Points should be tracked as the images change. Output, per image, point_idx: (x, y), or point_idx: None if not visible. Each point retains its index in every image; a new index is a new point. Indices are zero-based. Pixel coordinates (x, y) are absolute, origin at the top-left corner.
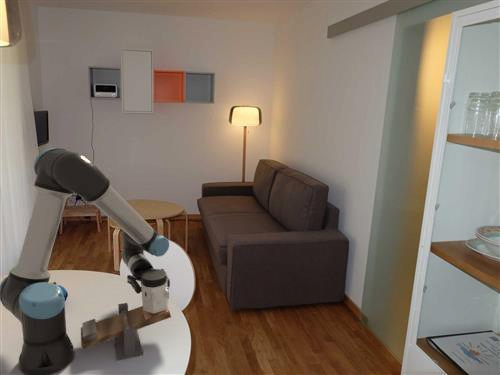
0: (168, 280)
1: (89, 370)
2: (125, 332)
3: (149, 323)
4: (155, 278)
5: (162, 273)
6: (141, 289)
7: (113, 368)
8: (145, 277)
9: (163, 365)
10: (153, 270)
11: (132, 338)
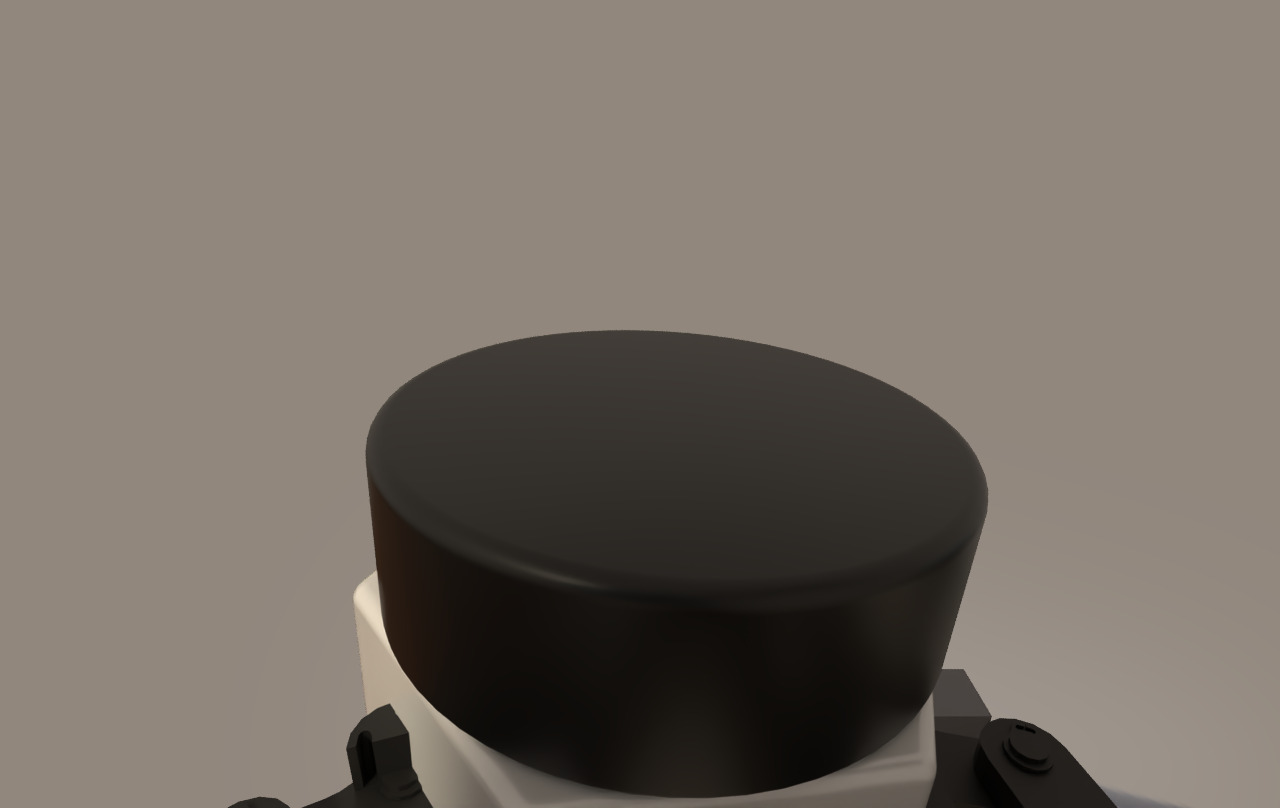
0: (251, 806)
1: (1146, 797)
2: (954, 672)
3: None
4: (668, 344)
5: (482, 391)
6: None
7: None
8: (860, 395)
9: None
10: (657, 521)
11: None
